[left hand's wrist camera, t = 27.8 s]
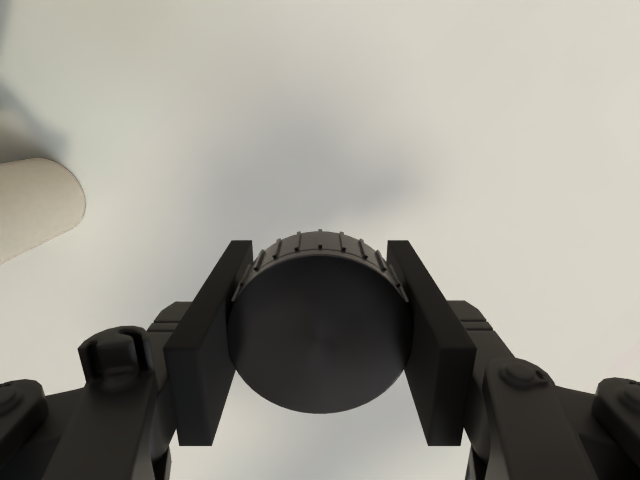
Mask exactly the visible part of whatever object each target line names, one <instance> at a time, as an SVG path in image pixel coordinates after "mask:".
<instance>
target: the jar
mask: <svg viewBox="0 0 640 480" xmlns="http://www.w3.org/2000/svg"><path fill="white" fill-rule="evenodd" d="M84 211H85V197H84V193H83V190H82V188H81V186H80V184H79V182H78V181H77V179H76V178H75V177H74V176H73V175H72V173H70V172H69V171H68V170H67V169H66V168H64V167H63V166H61V165H60V164H58V163H56V162H54V161H51V160H48V159H43V158H29V159H23V160H18V161H12V162H7V163H1V164H0V264H2V263H4V262H6V261H8V260H10V259H12V258H14V257H16V256H18V255H20V254H22V253H24V252H26V251H28V250H30V249H32V248H34V247H36V246H38V245H40V244H42V243H45V242H47V241H49V240H51V239H53V238H55V237H57V236H59V235H61V234H63V233H65V232H67V231H69V230H71V229H72V228H74V227H75V226H76V225H77V224H78V223H79V222H80V221H81V219H82V217H83V215H84Z"/></svg>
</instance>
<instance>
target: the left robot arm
mask: <svg viewBox="0 0 640 480" xmlns="http://www.w3.org/2000/svg"><path fill="white" fill-rule="evenodd" d="M386 262H387V264H388V265H390V264H391V265H392V266H393V268H394V271H395V273H396V275H397V277H398V280H399V281H400V282H401V285H402V287H403V289H404V291H405V293H406V296H407V298H408V300H409V303H410V304H409V305H408V308H409V310H410V313H411V317H412V322H413V341H412V350H411V354H410V357H409V360H408V362H407V364H406V366H405V368H404V371H405V374H406V377H407V381H408V384H409V387H410V390H411V393H412V396H413V400H414V403H415V406H416V409H417V412H418V415H419V419H420V422H421V425H422V428H423V431H424V435H425V438H426V441H427V444H428V446H460V445H461V439H462V434H463V428H464V429H465V431H466V433H467V435H468V438H469V440H470V442H471V449H470V454H469V459H468V465H467V470H466V476H465V480H640V382H636V381H634V380H630V379H623V378H616V377H614V378H607V379H604V380H602V381H601V382H600V383H599V384H598V387H597V390H596V393H595V394H590V393H586V392H581V391H576V390H572V389H567V388H563V387H559V386H556V385H555V383H554V381H553V380H552V379H551V377H550V376H549V375H548V373H546V372H545V371H544V370H542V369H541V368H540V367H538V366H537V365H534V364H532V363H530V362H528V361H526V360H522V359H518V358H515V357H514V355H513V354H512V353H511V351H510V350H509V349H508V348H507V346H506V345H505V344H504V342H503V341H502V340H501V338H500V337H499V336H498V334H497V333H496V332H495V331H493V328H492V327H491V325H490V324H489V323H488V322H486V319H485V318H484V316H483V315H482V314H481V312H480V311H479V310H478V309H477V308H475V307H474V306H472V305H471V304H469V303H468V302H466V301H447V300H446V299H445V297H444V296H443V294H442V293H441V291H440V290H439V288H438V286H437V285H436V283H435V282H434V280H433V279H432V277H431V275H430V274H429V272H428V271H427V269H426V268H425V266H424V265H423V263H422V261H421V260H420V258H419V257H418V255H417V254H416V252H415V251H414V249H413V247H412V246H411V244H410V243H409V241H408V240H388V245H387V260H386ZM252 263H253V249H252V240H232V241H231V242H230V244H229V245H228V247H227V249H226V250H225V252H224V253H223V255H222V256H221V258H220V259H219V261H218V263H217V264H216V266H215V267H214V269H213V270H212V272H211V274H210V275H209V277H208V278H207V280H206V281H205V283H204V284H203V286H202V288H201V289H200V291H199V292H198V294H197V295H196V297H195V299H194V300H193V302H174V303H173V304H171V305H170V306H168V307H167V308H165V309H163V310H162V311H161V312H160V314H159V315H158V316H157V317H156V319H155V320H154V323H152V324H151V325H150V327H149V328H148V329H147V331H146V330H145V329H143V328H141V327H137V326H120V327H115V328H110V329H107V330H104V331H102V332H99V333H97V334H95V335H93V336H91V337H90V338H88V339H87V340H85V341H84V342H83V343H82V344H81V345H80V347H79V348H78V352H79V356H80V360H81V364H82V367H83V371H84V375H85V379H86V384H85V386H84V387H83V388H80V389H76V390H71V391H67V392H62V393H57V394H53V395H48V396H45V394H44V391H43V388H42V385H41V384H39V383H38V382H37V381H35V380H28V379H23V380H15V381H10V382H6V383H3V384H0V480H169V477H170V469H171V454H170V449H169V444H170V441H171V439H172V437H173V435H174V432H175V430H176V429H177V435H178V441H179V446H212V443H213V440H214V437H215V434H216V431H217V427H218V424H219V421H220V418H221V415H222V412H223V408H224V405H225V402H226V399H227V396H228V393H229V389H230V386H231V383H232V380H233V377H234V373H235V370H236V368H235V367H234V365H233V362H232V360H231V358H230V355H229V351H228V344H227V333H226V328H227V320H228V316H229V312H230V310H231V307H232V305H233V304H230V302H231V300H232V297H233V295H234V293H235V291H236V288H237V286H238V284H239V282H240V280H241V279H242V277H243V275H244V273H245V270H246V268H247V266H248V264H251V265H252Z"/></svg>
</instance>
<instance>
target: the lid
mask: <svg viewBox="0 0 640 480" xmlns="http://www.w3.org/2000/svg"><path fill="white" fill-rule="evenodd" d="M230 304H233V305H232V307H231V310H230V312H229V316H228V320H227V328H226V333H227V344H228V351H229V355H230V358H231V360H232V362H233V365H234V367H235V368H236V370H237V372H238V373H239V375H240V376H241V377H242V379H243V380H244V381H245V383H246V384H248V385H249V386H250V387H251V388H252V389H253V390H254V391H255V392H256V393H258V394H259V395H260V396H262V397H263V398H265V399H267V400H268V401H270V402H272V403H274V404H276V405H279V406H281V407H284V408H287V409H290V410H294V411H298V412H303V413H313V414H327V413H337V412H341V411H346V410H350V409H353V408H356V407H359V406H361V405H363V404H366V403H368V402H370V401H371V400H373V399H375V398H377V397H378V396H379V395H381V394H382V393H383V392H385V391H386V390H387V389H388V388H389V387H390V386H391V385H392V384H393V383H394V382H395V381H396V380H397V378H398V377H399V376H400V375H401V373H402V371H403V370H404V368H405V366H406V364H407V362H408V360H409V357H410V354H411V350H412V341H413V322H412V317H411V313H410V310H409V308H408V305H409V304H410V303H409V300H408V298H407V296H406V293H405V291H404V289H403V287H402V285H401V282H400V281H399V280H398V277H397V275H396V273H395V271H394V268H393V266H392V265H391V264H390V265H388V264H387V262H386V261H385V260H384V259H383V258H382V255H381V253H380V251H379V250H377V251H375V250H374V249H372V248H371V247H370V246H368V245H367V244H365V243H364V241H363V240H362V239H360V240H357V239H355V238H352V237H350V236H347V235H344V232H340V233H333V232H322V229H318V232H316V231H315V232H306V233H301V232H297V235H293V236H290V237H288V238H285V239H282V240H281V239H280V238H279V239H277V242H276V243H275V244H273V245H272V246H270V247H269V248H268V249H266V250H265V251H264V250H263V249H262V250H261V251H260V253H259V256H258V257H257V258H256V260H255V261H254V262H253V263H252V265H251V264H248V266H247V268H246V270H245V273H244V275H243V277H242V279H241V280H240V282H239V284H238V286H237V288H236V291H235V293H234V295H233V297H232V300H231V302H230Z"/></svg>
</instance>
